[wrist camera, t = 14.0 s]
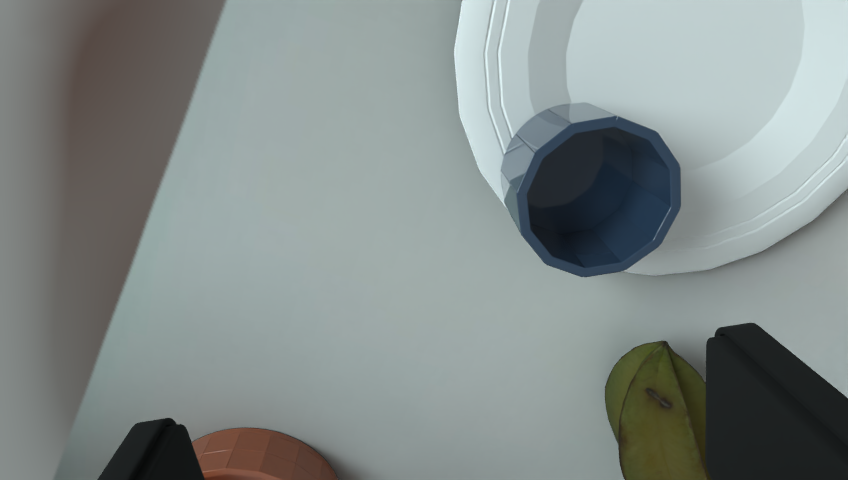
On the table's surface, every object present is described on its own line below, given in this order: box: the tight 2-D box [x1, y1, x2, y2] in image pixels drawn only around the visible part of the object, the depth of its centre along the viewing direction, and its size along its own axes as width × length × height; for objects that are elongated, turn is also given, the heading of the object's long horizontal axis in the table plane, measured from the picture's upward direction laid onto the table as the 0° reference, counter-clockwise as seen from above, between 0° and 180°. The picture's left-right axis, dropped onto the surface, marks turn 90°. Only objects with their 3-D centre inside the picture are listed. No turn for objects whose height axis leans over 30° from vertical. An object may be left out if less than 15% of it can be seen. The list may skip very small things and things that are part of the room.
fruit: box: [605, 341, 711, 480], centre depth 37 cm, size 11×12×7 cm
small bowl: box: [501, 102, 681, 277], centre depth 30 cm, size 8×8×6 cm
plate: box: [454, 0, 848, 276], centre depth 31 cm, size 25×25×2 cm
